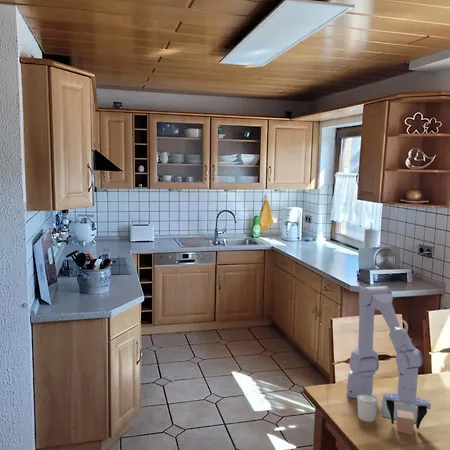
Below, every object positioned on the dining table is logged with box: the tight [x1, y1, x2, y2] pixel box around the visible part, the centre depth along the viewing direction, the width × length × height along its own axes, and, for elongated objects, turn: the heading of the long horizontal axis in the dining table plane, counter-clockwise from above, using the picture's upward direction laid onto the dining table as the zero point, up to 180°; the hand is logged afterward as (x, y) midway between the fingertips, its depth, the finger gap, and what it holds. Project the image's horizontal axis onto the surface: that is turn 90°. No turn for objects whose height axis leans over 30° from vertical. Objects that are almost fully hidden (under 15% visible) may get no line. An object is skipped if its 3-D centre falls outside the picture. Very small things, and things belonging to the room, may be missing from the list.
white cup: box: [356, 394, 379, 423], centre depth 150 cm, size 7×7×7 cm
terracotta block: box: [395, 410, 415, 435], centre depth 143 cm, size 5×5×5 cm
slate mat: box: [381, 400, 417, 424], centre depth 154 cm, size 12×12×1 cm
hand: (404, 424), depth 143 cm, fingers open, 7 cm apart
